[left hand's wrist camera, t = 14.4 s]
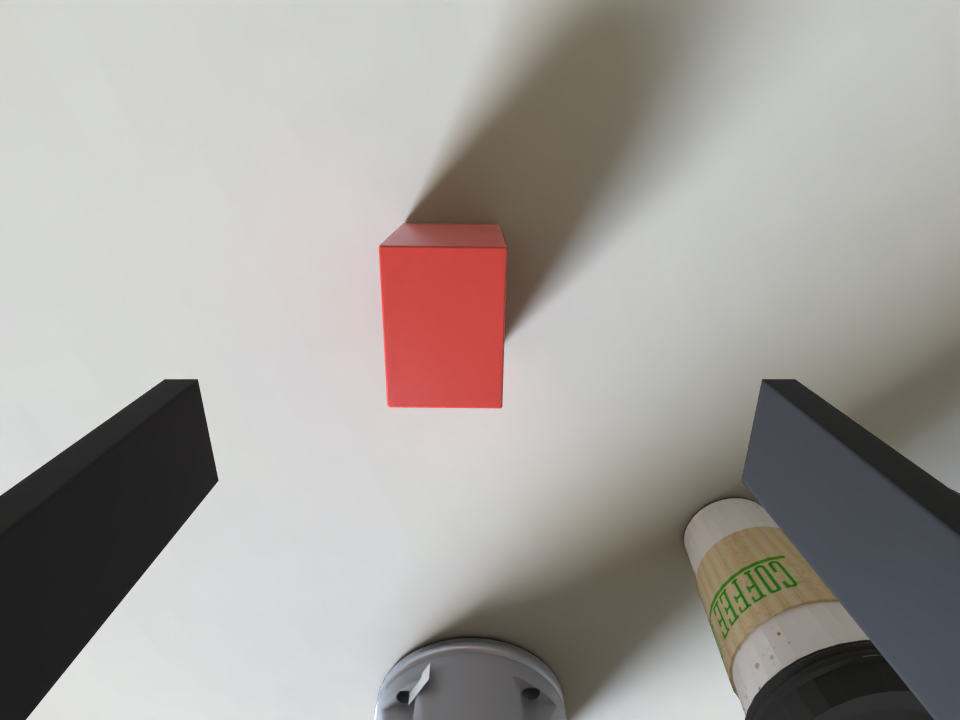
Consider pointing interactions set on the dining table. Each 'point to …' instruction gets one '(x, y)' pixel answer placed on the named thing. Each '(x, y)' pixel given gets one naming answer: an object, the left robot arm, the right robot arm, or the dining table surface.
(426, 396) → the block
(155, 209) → the dining table surface
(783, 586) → the coffee cup
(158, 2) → the dining table surface
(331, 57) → the dining table surface
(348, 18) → the dining table surface
